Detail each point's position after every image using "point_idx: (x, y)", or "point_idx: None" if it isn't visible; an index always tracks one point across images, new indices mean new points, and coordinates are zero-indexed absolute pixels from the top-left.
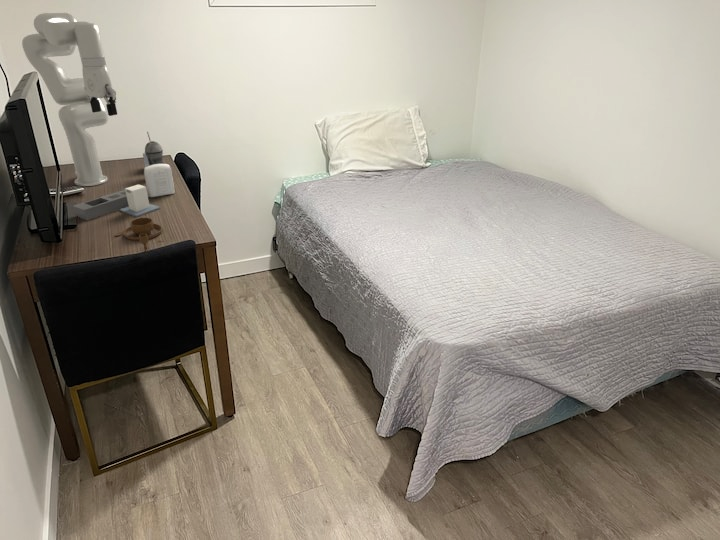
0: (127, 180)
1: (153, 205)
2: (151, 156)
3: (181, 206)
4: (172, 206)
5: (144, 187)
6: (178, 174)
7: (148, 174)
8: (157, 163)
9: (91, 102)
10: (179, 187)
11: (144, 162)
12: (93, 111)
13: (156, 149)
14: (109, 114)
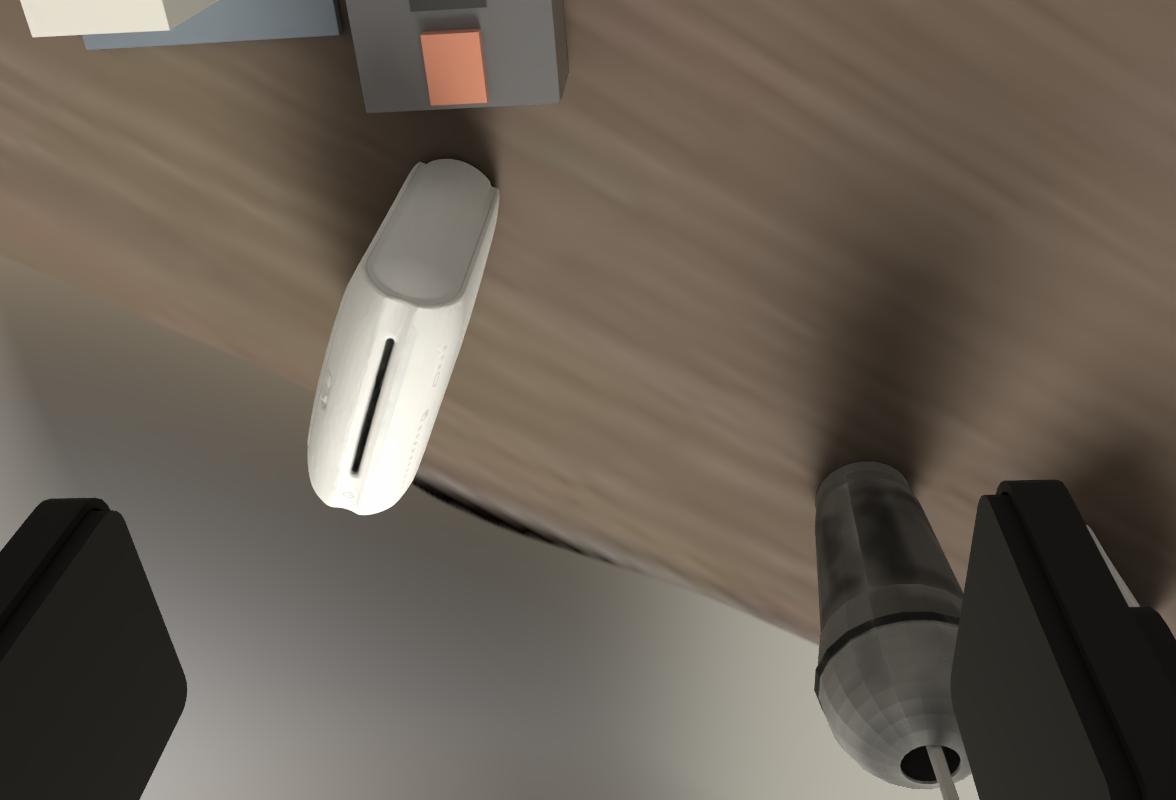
0: (1057, 304)
1: (166, 35)
2: (862, 605)
3: (35, 195)
4: (82, 148)
5: (27, 15)
6: (782, 616)
7: (355, 271)
8: (826, 579)
9: (1116, 776)
10: (488, 449)
11: (1120, 584)
12: (999, 498)
13: (830, 695)
14: (34, 525)
